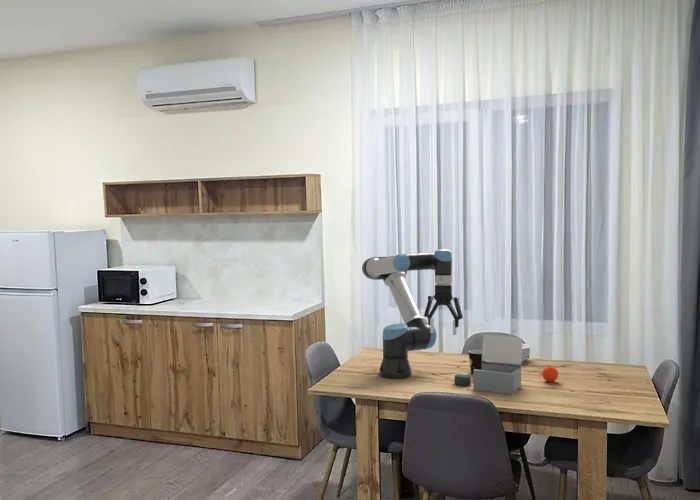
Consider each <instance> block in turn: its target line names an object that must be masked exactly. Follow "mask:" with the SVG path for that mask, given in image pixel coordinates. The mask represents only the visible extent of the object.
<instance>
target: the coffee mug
mask: <svg viewBox="0 0 700 500" xmlns="http://www.w3.org/2000/svg"><path fill="white" fill-rule="evenodd" d="M468 358H469V368H470V373H471V374H472V375H473V370H474V369H476V370H482V349H471V350H468Z"/></svg>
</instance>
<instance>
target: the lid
mask: <svg viewBox="0 0 700 500" xmlns="http://www.w3.org/2000/svg"><path fill="white" fill-rule="evenodd" d="M522 343H523V338H522V337H516V336H514V337H513V336H503V335H492V334H491V335H490V334H483V335H482V349H481V350H482V361H486V362H496V363H505V364H515V365H521V366H522V362H521V359H522Z"/></svg>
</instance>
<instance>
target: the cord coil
mask: <svg viewBox="0 0 700 500" xmlns="http://www.w3.org/2000/svg"><path fill="white" fill-rule="evenodd" d="M471 378H472V377H471V375H469V374H468V373H467V372H466V373H465V372H460V373H459V374H455V375H454V385H456V386H458V387H459V386H460V387H467V386H470V385H471Z"/></svg>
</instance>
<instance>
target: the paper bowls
mask: <svg viewBox="0 0 700 500" xmlns="http://www.w3.org/2000/svg"><path fill="white" fill-rule="evenodd" d="M530 355H531V345H529V344H526V343H523V342H522V359H521V363H522V362H524V361H525V360H526V358H527V357H530Z"/></svg>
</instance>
